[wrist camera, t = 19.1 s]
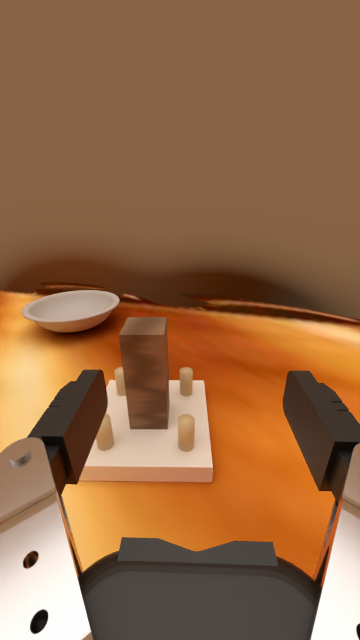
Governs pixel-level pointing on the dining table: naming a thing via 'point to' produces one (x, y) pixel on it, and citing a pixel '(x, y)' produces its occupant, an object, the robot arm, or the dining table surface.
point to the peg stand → (153, 438)
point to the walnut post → (146, 371)
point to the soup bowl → (71, 310)
